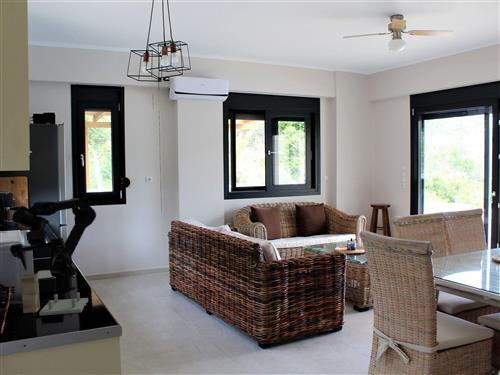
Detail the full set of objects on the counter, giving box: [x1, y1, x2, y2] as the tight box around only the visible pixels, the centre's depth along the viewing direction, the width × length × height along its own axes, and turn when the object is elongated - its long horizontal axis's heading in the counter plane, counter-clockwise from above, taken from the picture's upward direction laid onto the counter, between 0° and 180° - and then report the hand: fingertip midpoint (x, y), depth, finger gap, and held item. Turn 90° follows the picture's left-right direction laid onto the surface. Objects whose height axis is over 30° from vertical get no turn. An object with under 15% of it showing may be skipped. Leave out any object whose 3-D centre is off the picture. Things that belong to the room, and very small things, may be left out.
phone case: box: [36, 269, 56, 282], centre depth 228 cm, size 9×2×16 cm
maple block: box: [20, 273, 41, 314], centre depth 174 cm, size 4×4×13 cm
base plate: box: [39, 292, 89, 316], centre depth 176 cm, size 14×14×4 cm
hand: (38, 267), depth 179 cm, fingers open, 9 cm apart
